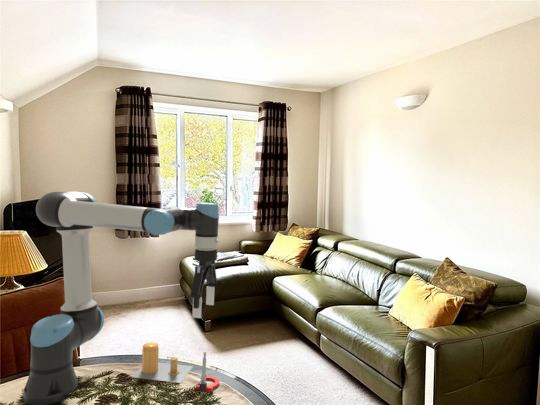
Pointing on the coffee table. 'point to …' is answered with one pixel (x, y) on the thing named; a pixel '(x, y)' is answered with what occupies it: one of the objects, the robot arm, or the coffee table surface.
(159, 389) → the coffee table surface
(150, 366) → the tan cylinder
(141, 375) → the board
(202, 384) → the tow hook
